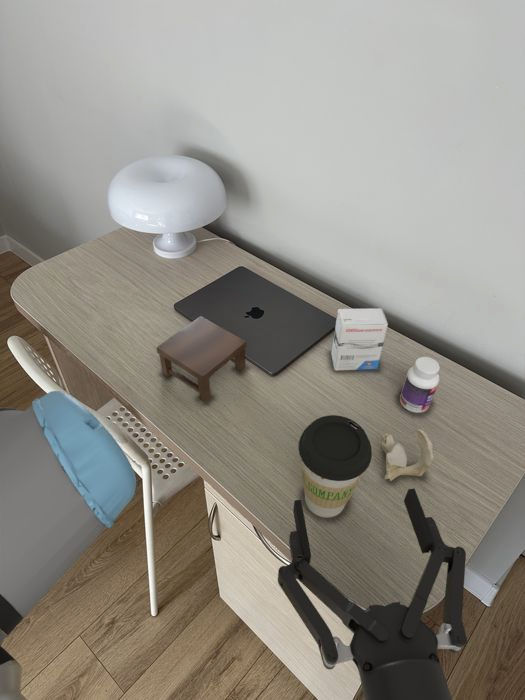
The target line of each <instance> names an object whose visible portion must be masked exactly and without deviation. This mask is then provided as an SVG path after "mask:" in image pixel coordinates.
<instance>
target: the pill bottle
mask: <svg viewBox="0 0 525 700" xmlns="http://www.w3.org/2000/svg"><path fill="white" fill-rule="evenodd" d="M439 371H440V364H439V362H438V361H437V360H435V359H434V358H432V357H429V356H421V357H419V358H417V359H416V360H415V362H414V365H412V366H411V367H409V369H408V371H407V373H406V376H405V380H404V382H403V386H402V389H401V393H400V394H399V402H400V404H401V406H402V407H403V408H404V409H406V411H409V412H412V413H415V414H418V413H419V414H420V413H424V412H426V411H428V409H429V407H430V406H431V404H432V401H433V398H434V396H435V393H436V391H437V389H438V386H439V383H440V375H439Z"/></svg>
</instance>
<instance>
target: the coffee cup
mask: <svg viewBox="0 0 525 700" xmlns="http://www.w3.org/2000/svg"><path fill="white" fill-rule="evenodd" d="M372 449H373V448H372V445H371V441H370V439H369V437H368V435H367V433H366V431H365V430H364V428H363V427H362V426H361V425H360V424H358V422H356V421H355V420H353V419H351V418H348V417H346V416H343V415H336V414H330V415H323V416H321V417H317V418H316V419H315V420H313V421H312V422H311V423H310V424H309V425H307V427H306V428H305V429H304V430H303V431H302V433H301V435H300V438H299V441H298V453H299V456H300V462H301V475H302V487H303V491H304V500H305V501H304V502H305V504H306V507H307V508H308V509H309V511H311V512H312V513H313V514H314V515H316V516H318V517H320V518H326V519H327V518H333V517H337V516H338V515H340V514H341V513H342V511H343V510H344V509H345V507H346V505H347V503H348V502H349V501H350V499H351V497H352V496H353V493H354V491H355V490H356V488H357V486H358V484H359V483H360V480H361V478H362V476H363V474H364V473H366V471H367V469H368V468H369V466H370V464H371V463H372V457H373V452H372V451H373V450H372Z"/></svg>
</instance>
